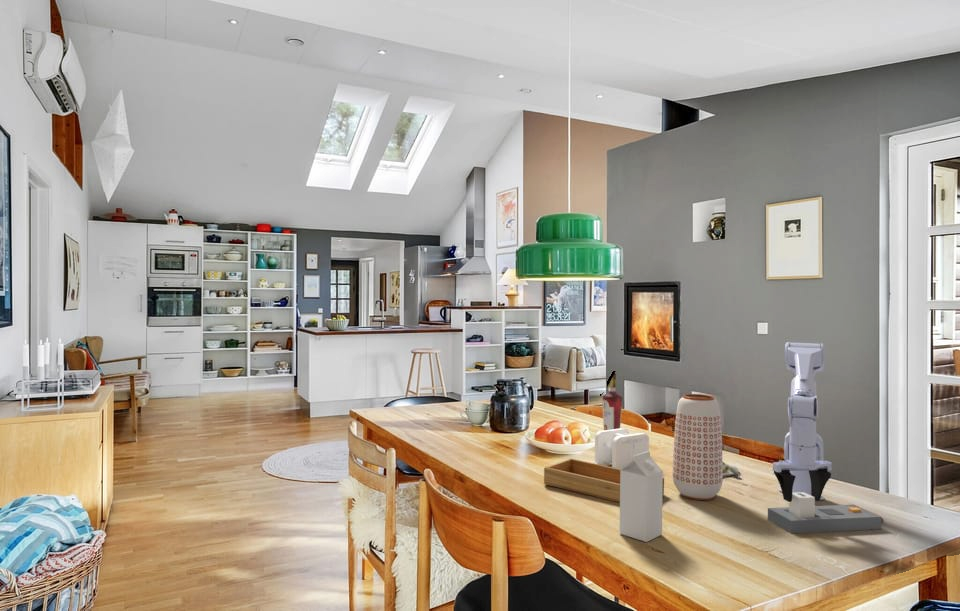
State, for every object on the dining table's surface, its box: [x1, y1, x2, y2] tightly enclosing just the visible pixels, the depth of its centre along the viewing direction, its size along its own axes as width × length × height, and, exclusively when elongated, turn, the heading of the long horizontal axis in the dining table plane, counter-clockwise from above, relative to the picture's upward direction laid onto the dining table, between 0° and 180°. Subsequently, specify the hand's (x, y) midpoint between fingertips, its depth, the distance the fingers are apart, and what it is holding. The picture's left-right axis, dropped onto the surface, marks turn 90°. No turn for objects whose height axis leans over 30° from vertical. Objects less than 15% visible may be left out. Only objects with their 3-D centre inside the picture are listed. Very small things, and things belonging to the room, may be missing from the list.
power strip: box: [767, 504, 884, 534], centre depth 150 cm, size 28×9×4 cm, turn 98°
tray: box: [543, 458, 665, 504], centre depth 176 cm, size 31×15×6 cm, turn 51°
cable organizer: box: [594, 427, 650, 469], centre depth 201 cm, size 15×11×12 cm
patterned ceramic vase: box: [672, 393, 724, 501], centre depth 172 cm, size 13×13×28 cm
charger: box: [788, 492, 816, 518], centre depth 149 cm, size 4×4×7 cm
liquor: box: [601, 372, 623, 431], centre depth 230 cm, size 7×7×28 cm
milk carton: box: [619, 450, 664, 543], centre depth 142 cm, size 7×7×19 cm
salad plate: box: [722, 460, 740, 478], centre depth 197 cm, size 19×18×5 cm
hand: (801, 499), depth 149 cm, fingers open, 7 cm apart
